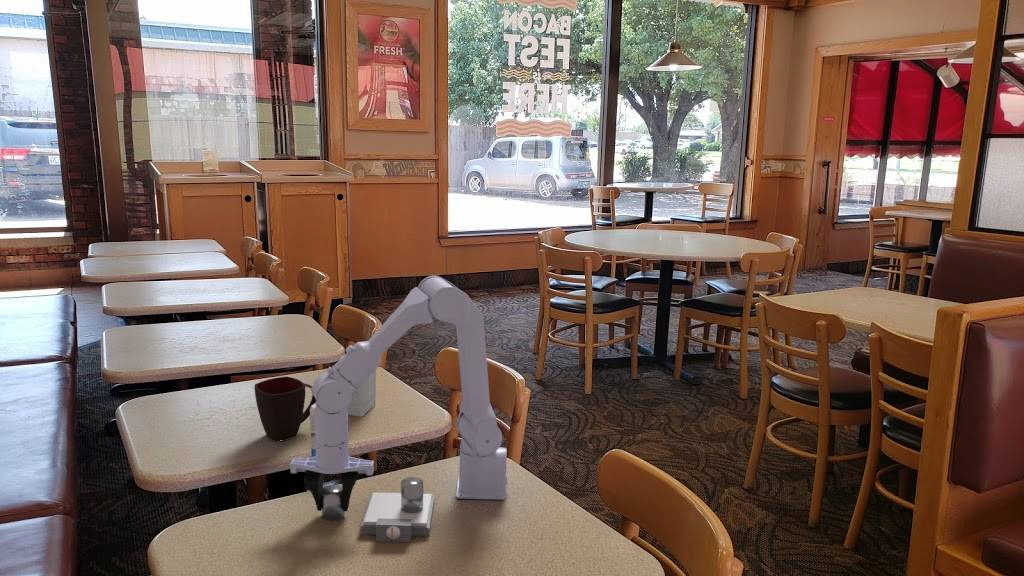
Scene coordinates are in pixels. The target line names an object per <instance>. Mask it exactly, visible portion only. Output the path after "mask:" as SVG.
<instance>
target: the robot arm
mask: <svg viewBox="0 0 1024 576" xmlns="http://www.w3.org/2000/svg"><path fill="white" fill-rule="evenodd" d="M432 317H434V318H435V319H437V320H439V321H441V322H443V323H444V322H446V323H450V324H453V325H455V327H456V328H455V329H456V339H457V341H456V342H457V349H458V350H457V351H458V352H457V353H458V364H459V375H460V386H461V398H462V401H461V403H460V404H459V414H458V416H457V417H458V418H457V420H456V425H455V426H456V430H457V432H458V433H459V434H460V436H461V441H460V444H459V467H458V468H459V471H458V472H459V473H458V475H459V476H458V477H457V483H456V490H455V491H456V492H455V497H456V499H458V500H459V499H462V500H463V499H464V500H465V499H466V500H470V499H471V500H499V501H500V500H501V501H502V500H506V486H507V484H508V474H507V461H508V459H507V458H508V457H507V455H508V454H507V453H508V451H507V449H508V448H506V447H501V445H502V442H503V433H502V431H501V429H500V428H499V426H498V422H497V416H496V414H495V412H494V409H493V407H492V404H491V402H490V401H491V400H490V399H491V398H490V387H489V373H488V361H487V348H486V346H487V345H486V332H485V321H484V315H483V313H482V311H481V310H480V309H479V308H478V307H477V305H476V304H475V303H474V302H473V300H472V299H471V298H470V296H469V295H468V294H467V293H466V292H464V291H462V290H461V289H460V288H459V287H457V286H456V285H455V284H453V283H452V282H451V281H449V280H447V279H445V278H443V277H441V276H439V275H429V276H426V277H425V278H424V279H422V280H421V281H420V282H419V283H418V286H415V287H413V289H412V288H411V290H410V291H409V293H408V295H407V296H406V297H405V299H404V300H403V301H402V303H400V305H399V306H398V307H397V308H396V309H395V310H394V311H393V312H392V314H390V316H389V317H388V318H387V319H386V321H384V322H383V324H381V326H380V327H379V328H378V329H377V330H376V331H375V333H373V335H371V336H370V338H369V340H367V341H366V340H365V341H357V342H356V343H355V344H354V345H352V344H350V345H348V346H347V347H346V348H345V352H346V353H345V354H343V357H342V356H341V357H342V358H341V357H340V358H341V359H339V360H338V361H337V362H336V363H335V364H334V365H333V366H332V367H331V366H329V367H328V368H327V369H326V371H325V373H321V374H318V376H316V378H315V379H314V380H313V382H312V385H311V386H312V387H311V389H310V391H311V393H312V394H313V396H314V397H315V399H316V402H315V406H316V407H315V413H316V414H315V445H316V457H311V456H310V457H302V458H301V457H300V458H299V457H298V458H292V460H291V462H290V463H289V465H290V466H289V467H290V473H291V474H298V472H300V473H301V472H303V473H304V472H305V475H304V478H303V481H304V484H305V485H306V487H307V488H308V489H309V491H310V493H311V495H312V497H313V499H314V503H315V505H316V510H317V511H319V512H322V489H323V488H324V474H325V475H336V474H337V475H338V474H342V473H343V477H342V478H341V486H342V488H343V511H345V512H348V510H349V507H350V499H351V495H352V491H353V489H354V487H355V485H356V483H357V480H358V478H359V474H365V475H366V476H373V474H374V470H375V461H374V460H368V459H363V458H357V457H353V456H350V455H349V452H350V451H349V449H350V447H349V415H348V414H347V406H349V404H350V402H351V399H352V393H353V392H354V391H355V390H356V389H357V388H358V387H359V386H360V385H361V384H362V383H363V382H364V381H365V380H366V379H367V378H368V377H369V376H370V375H371V374H372V373H373V372H374V371H375V370H376V371H377V369H378V368H379V367H380V366H381V364H382V354H384V353H385V352H386V351H387V350H389V348H391V346H393V344H395V343H396V342H397V341H398V340H399V339H400V338H401V337H402V336H404V335H405V334H406V333H407V332H408V331H409V330H410V329H411V328H412V327H414V325H415V326H416V325H425V324H429V325H430V324H433V323H434V320H433V318H432Z"/></svg>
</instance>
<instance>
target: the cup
mask: <svg viewBox="0 0 1024 576" xmlns="http://www.w3.org/2000/svg"><path fill="white" fill-rule="evenodd" d="M312 386H313V385H311V384H309V383H304V382H303V381H301V380H300V379H297V378H296V377H291V376H279V377H273V378H269V379H265V380H262V381H260V382H257V383H255V384H254V387H253V388H254V396H255V402H256V407H257V410H258V414H259V415H258V416H259V418H260V421H261V425H262V428H263V430H264V432H265V435H266V437H267V438H268V439H269V438H270V440H271V439H272V440H271V441H273V440H275V441H274V442H276V441H280V440H285V441H287V440H286V439H289V438H291V439H293V438H292V437H294V436H295V437H297V436H296V435H298V433H299V430H300V426H301V424H302V423H304V422H305V421H306V420H307V419H308V418H310V408H311V406H312V405H314V404H315V402H316V399H315V397H314V396H313V394H312V395H311V400H310V402H309V405H308V406H307V407H306V409H304V408H305V403H306V402H305V401H306V388H308V389H310V390H311V387H312ZM304 410H305V411H304ZM295 437H294V438H295ZM289 440H290V439H289ZM280 442H281V441H280Z"/></svg>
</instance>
